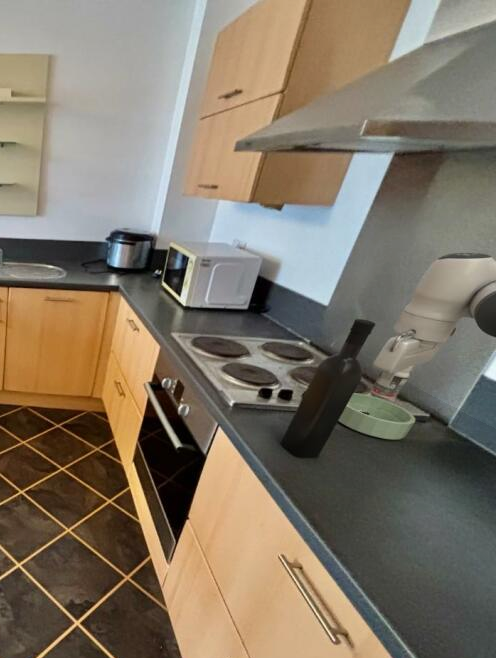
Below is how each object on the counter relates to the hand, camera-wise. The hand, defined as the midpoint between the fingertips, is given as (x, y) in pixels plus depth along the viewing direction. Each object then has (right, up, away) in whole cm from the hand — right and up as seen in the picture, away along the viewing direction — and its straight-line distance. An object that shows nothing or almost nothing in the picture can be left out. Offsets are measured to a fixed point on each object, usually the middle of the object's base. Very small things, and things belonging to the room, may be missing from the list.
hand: (389, 383), depth 98 cm
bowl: (-1, -10, +5) cm, 12 cm away
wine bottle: (-27, -15, -6) cm, 31 cm away
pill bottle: (0, -3, +2) cm, 3 cm away
